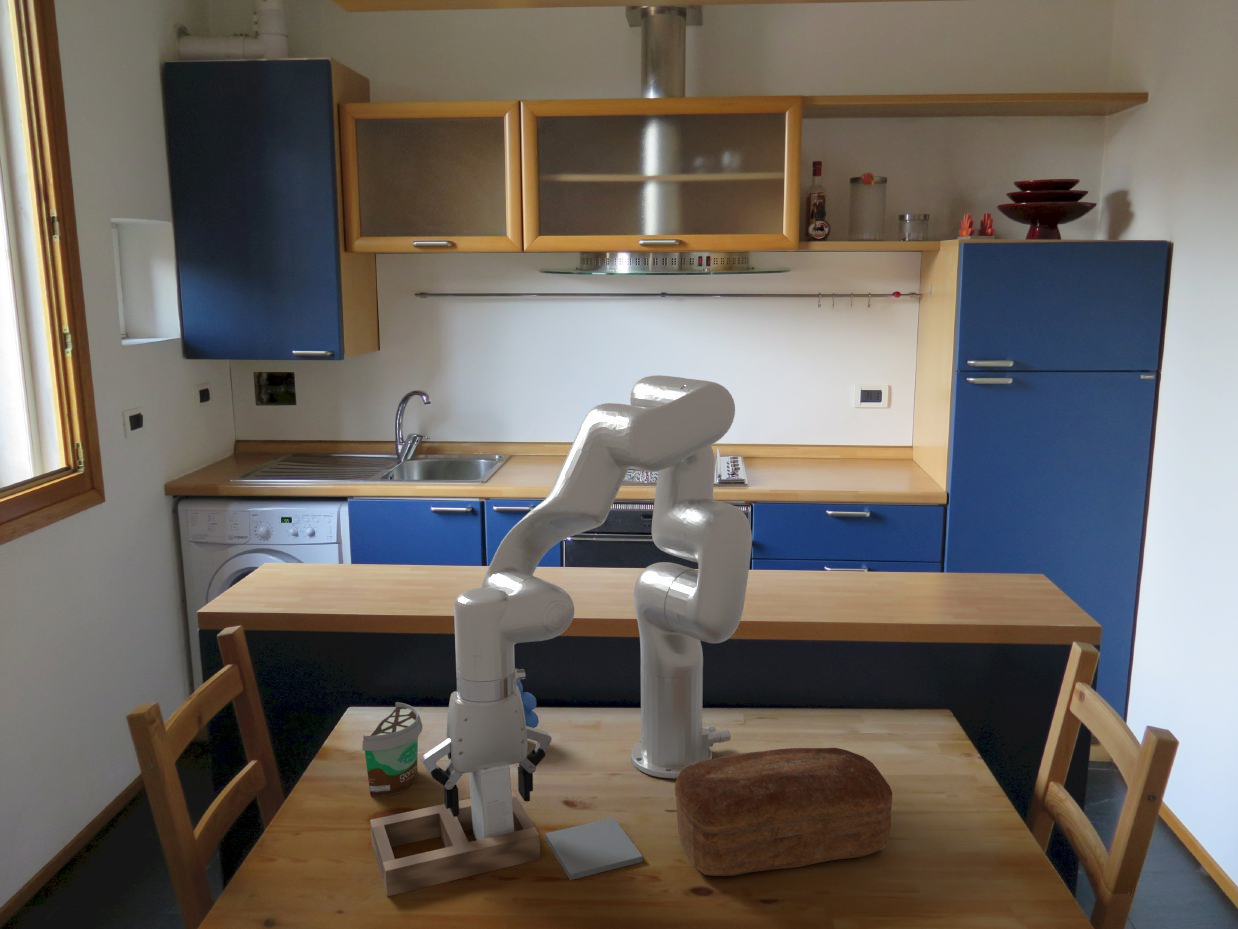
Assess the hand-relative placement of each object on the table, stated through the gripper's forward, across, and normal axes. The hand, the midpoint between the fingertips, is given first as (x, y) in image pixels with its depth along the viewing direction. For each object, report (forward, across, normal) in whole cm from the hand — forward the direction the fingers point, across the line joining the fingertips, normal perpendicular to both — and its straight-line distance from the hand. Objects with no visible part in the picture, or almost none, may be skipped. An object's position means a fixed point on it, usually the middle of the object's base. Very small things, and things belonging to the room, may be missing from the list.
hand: (489, 804), depth 133 cm
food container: (+6, +8, -21) cm, 23 cm away
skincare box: (+6, 0, 0) cm, 6 cm away
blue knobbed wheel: (+6, -9, -26) cm, 28 cm away
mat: (+6, -12, +7) cm, 15 cm away
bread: (+6, -36, +16) cm, 39 cm away
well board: (+6, +5, 0) cm, 8 cm away
